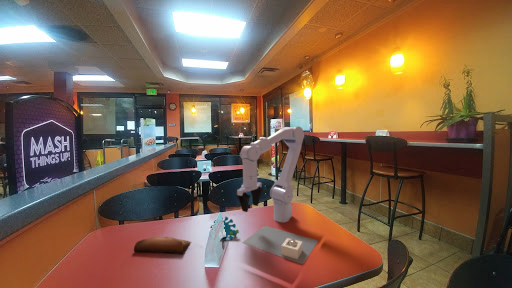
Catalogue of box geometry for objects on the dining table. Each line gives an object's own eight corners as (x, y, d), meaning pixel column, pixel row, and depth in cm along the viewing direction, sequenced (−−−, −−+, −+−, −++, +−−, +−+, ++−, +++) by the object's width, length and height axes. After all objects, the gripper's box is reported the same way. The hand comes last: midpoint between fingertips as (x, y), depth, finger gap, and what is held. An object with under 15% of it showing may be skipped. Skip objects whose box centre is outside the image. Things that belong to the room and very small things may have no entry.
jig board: (264, 227, 88) (264, 225, 88) (318, 243, 75) (318, 240, 75) (241, 245, 74) (241, 242, 74) (302, 267, 62) (302, 264, 62)
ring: (287, 246, 71) (287, 237, 71) (302, 250, 69) (302, 241, 69) (281, 254, 67) (281, 245, 67) (297, 259, 64) (297, 249, 64)
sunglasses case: (193, 241, 78) (189, 230, 74) (187, 260, 72) (182, 249, 68) (148, 240, 79) (141, 229, 75) (138, 258, 73) (130, 248, 69)
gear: (205, 239, 76) (214, 213, 82) (208, 244, 80) (217, 219, 86) (234, 246, 74) (241, 219, 80) (236, 250, 78) (242, 224, 85)
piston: (290, 250, 69) (290, 238, 69) (296, 252, 68) (296, 240, 68) (288, 253, 67) (288, 241, 67) (294, 255, 66) (294, 243, 66)
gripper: (252, 171, 91) (252, 201, 92) (230, 177, 79) (231, 212, 80) (265, 173, 87) (266, 204, 88) (245, 179, 75) (246, 215, 76)
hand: (250, 208), depth 84 cm, fingers open, 7 cm apart
